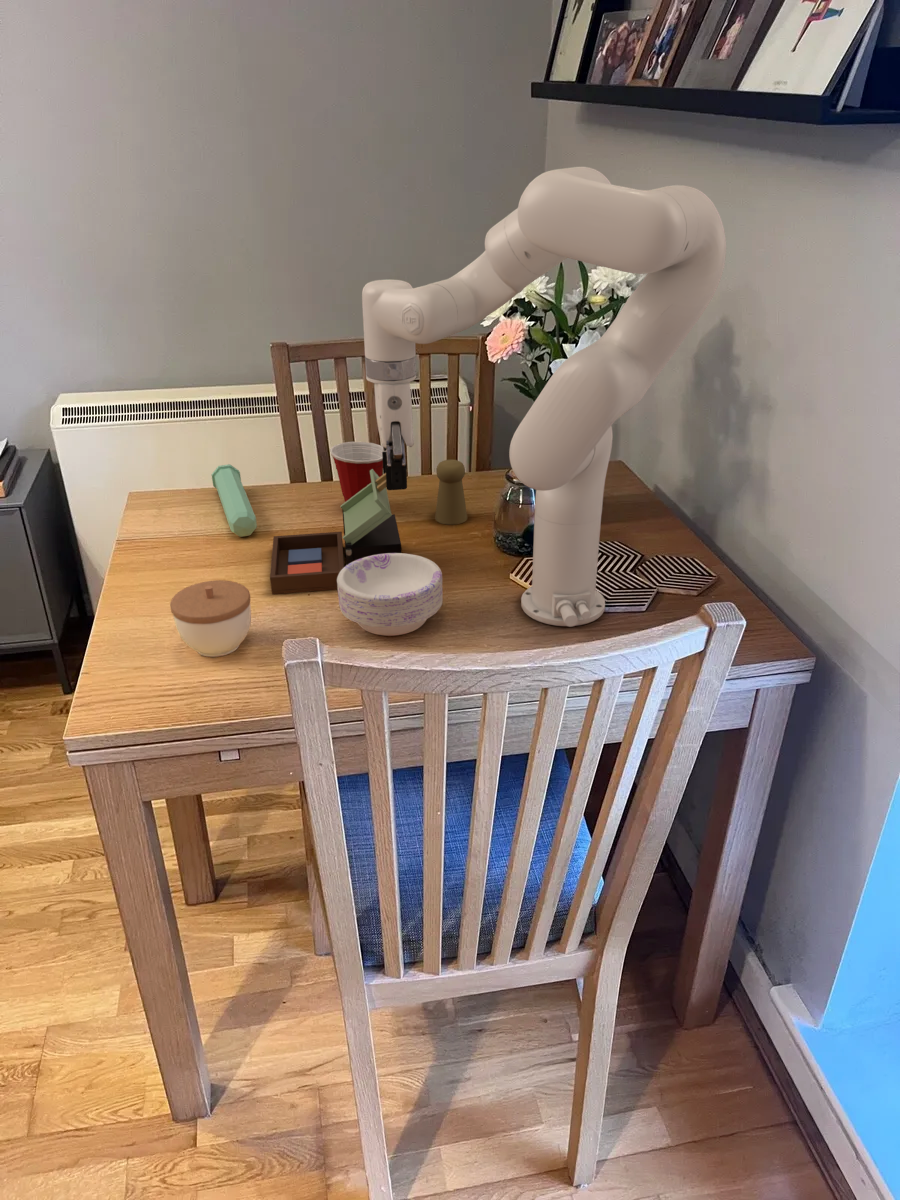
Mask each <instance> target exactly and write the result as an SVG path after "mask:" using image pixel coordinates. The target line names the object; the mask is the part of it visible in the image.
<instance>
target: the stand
mask: <svg viewBox="0 0 900 1200" xmlns="http://www.w3.org/2000/svg"><path fill="white" fill-rule="evenodd" d="M341 513H342V523H343V524H342V526H343V536H345V524H344V511H343V509H342V508H341ZM391 514H392V513H391ZM344 548H345V562H346V565H348V564H349V563H351V562H353V561H355V560H358V559H361V558H364V557H367V556H372V555H377V554H385V553H402V542H401V537H400V533H399V528H398V523H397V519H396V515H395V513H393V514H392V516H390V517H389V518H388V519H386V520H385V521H384V522H382V523H381V524H380V525H378V526H377V527H375V528H374V529H373V530H371V531H370V532H369V533H367V534H366V535H365V536H363V537H362V538H361V539H359V540H358V541H357V542H355V543H354V544H351V543H346V541H345V540H344Z"/></svg>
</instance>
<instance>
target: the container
mask: <svg viewBox="0 0 900 1200" xmlns="http://www.w3.org/2000/svg"><path fill="white" fill-rule="evenodd" d="M241 477H242V476H241V471H240V470H239V469H238V468H236V467H235V466H233V465H232V464H229V463H228V464H222V465H218V466H217V467H216V468H215V469H214V471H213V472H212V473H211V479H212V486H213V487H214V488H215V489H216V491H217V495H218V497H219V499H220V503H221V505H222V508H223V512H224V515H225V518H226V521H227V524H228V526H229V528H230V531H231V532H232V533H233V534H234V535H236V536H238V537H239V538H241V537H248V536H251V535H252V533H253V532H254V531H255V530H256V529H257V528H258V523H257V517H256V514H255V512H254V510H253V507H252V504H251V502H250V500H249V497H248V494H247V492H246V490H245V488H244V487H245V486H244V485H243V483H242V478H241Z"/></svg>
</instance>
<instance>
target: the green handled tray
mask: <svg viewBox="0 0 900 1200" xmlns="http://www.w3.org/2000/svg"><path fill="white" fill-rule="evenodd" d="M408 475H409V472H408V471H407V477H408ZM370 476H371V483H370V484H369V485H367V486H366V487H365V488H363V489H362V490H361V491H359V492H358V493H357V494H355V495H354V496H353V497H351V498H350V499H349V500H347V501H346V502H345V501H344V502H343V503H342V504H341V505H340V506H339V507H340V509H341V510H342V509H343V511H344V524H345V536H344V535H342V540H343V541H344V542H345V541H346V543H351V544H354V543H355V542H357V541H358V540H359V539H361V538H362V537H363V536H365V535H366V534H367V533H369V532H370V531H371V530H373V529H374V528H375V527H377V526H378V525H380V524H381V523H382V522H384V521H385V520H386V519H388V518H389V517H390V516H392V509H391V504H390V500H389V495H388V490H387V487H386V473H385V474H383V473H382V476H381V477H379V476H378V475H377V474H376V473H375V471H374V470H373V469H371V470H370Z"/></svg>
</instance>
